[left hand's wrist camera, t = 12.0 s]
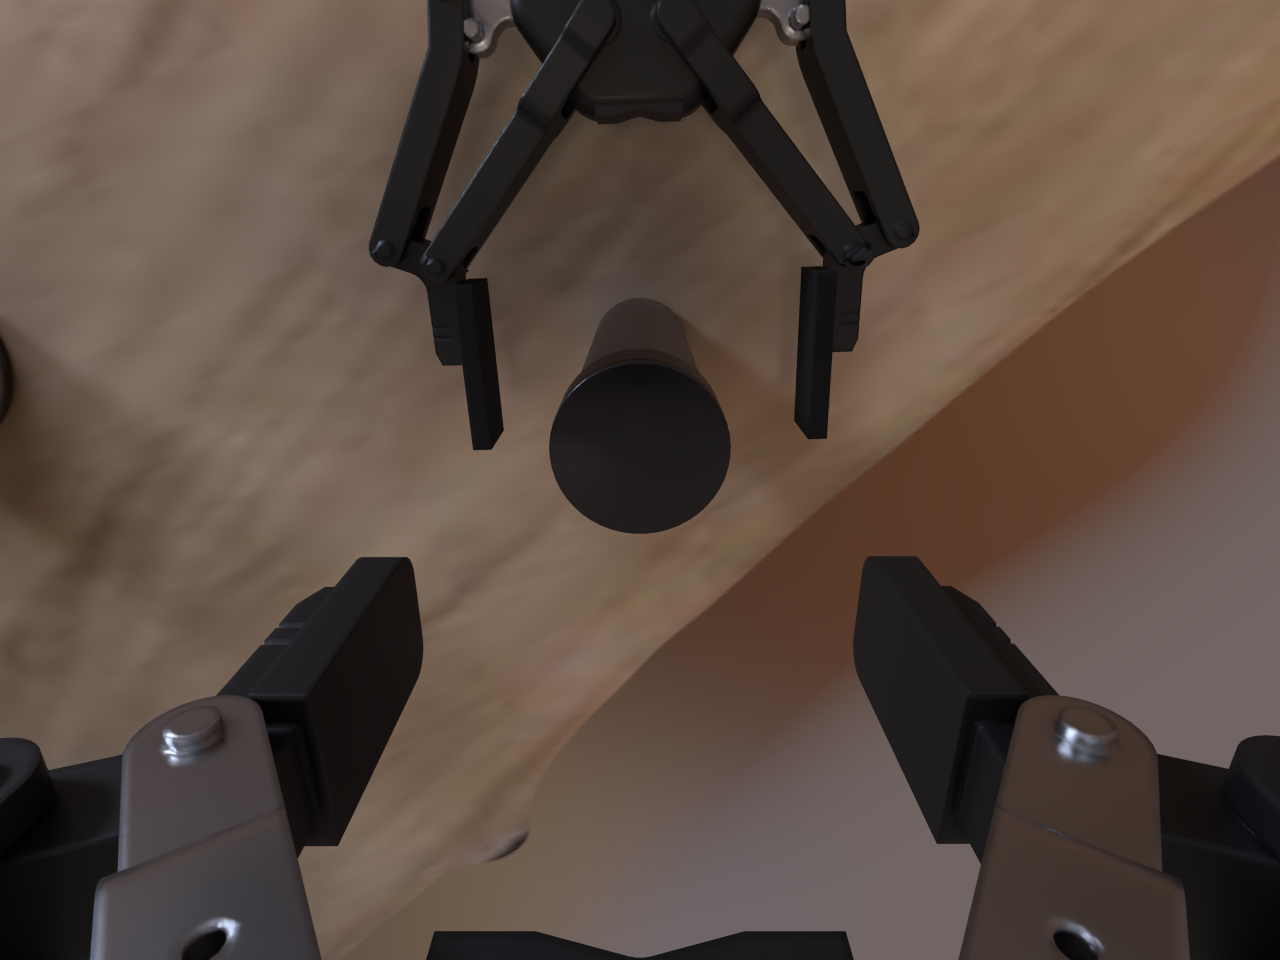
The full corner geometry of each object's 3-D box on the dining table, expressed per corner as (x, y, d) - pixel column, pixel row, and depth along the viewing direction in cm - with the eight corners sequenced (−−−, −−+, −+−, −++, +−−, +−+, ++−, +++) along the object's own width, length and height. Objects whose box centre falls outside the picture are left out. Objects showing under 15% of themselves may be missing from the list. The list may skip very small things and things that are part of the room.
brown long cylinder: (701, 323, 34) (750, 412, 19) (659, 403, 36) (674, 544, 20) (619, 281, 33) (601, 337, 18) (580, 364, 35) (533, 480, 20)
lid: (752, 394, 20) (764, 412, 18) (675, 531, 22) (678, 560, 20) (600, 318, 20) (596, 329, 18) (531, 465, 21) (520, 490, 19)
